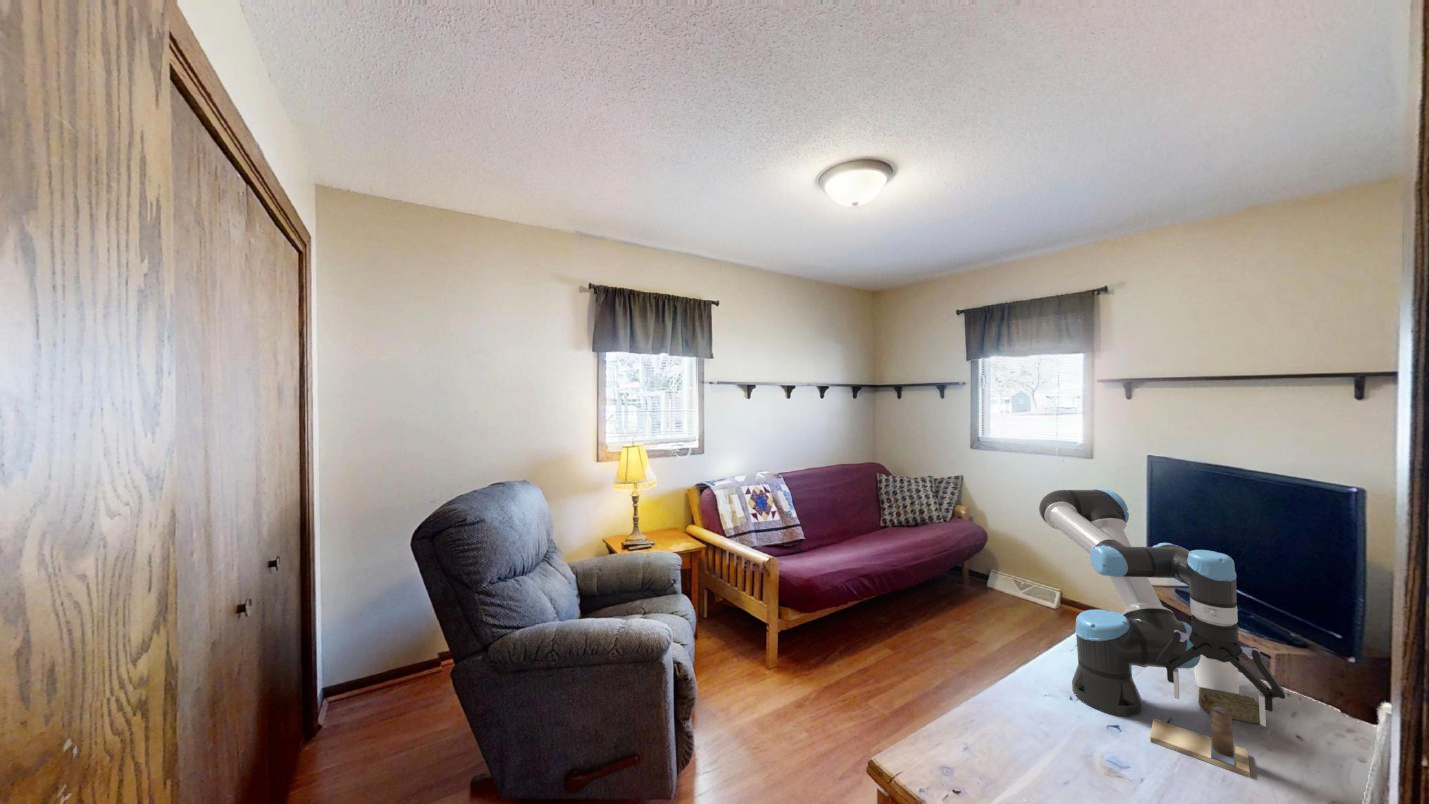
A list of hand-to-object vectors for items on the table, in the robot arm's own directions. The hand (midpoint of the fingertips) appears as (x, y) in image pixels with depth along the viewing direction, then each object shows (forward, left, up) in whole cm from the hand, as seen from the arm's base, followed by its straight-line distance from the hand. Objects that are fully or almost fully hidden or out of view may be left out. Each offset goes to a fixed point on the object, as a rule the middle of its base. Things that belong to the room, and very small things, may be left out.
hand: (1217, 709), depth 108 cm
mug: (0, +36, -11) cm, 37 cm away
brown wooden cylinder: (0, -1, -9) cm, 9 cm away
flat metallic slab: (-4, +12, -11) cm, 16 cm away
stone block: (+2, +22, -11) cm, 24 cm away
